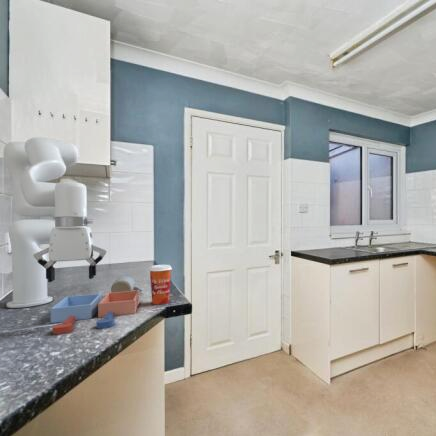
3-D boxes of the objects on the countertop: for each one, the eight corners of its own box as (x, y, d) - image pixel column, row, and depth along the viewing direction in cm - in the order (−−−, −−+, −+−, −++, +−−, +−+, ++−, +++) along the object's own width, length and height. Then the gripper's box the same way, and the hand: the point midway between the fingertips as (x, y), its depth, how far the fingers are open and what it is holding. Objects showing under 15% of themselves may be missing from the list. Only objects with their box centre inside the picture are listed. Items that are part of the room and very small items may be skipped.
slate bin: (66, 309, 110) (66, 296, 110) (101, 305, 115) (101, 293, 115) (50, 323, 96) (50, 308, 96) (91, 318, 100) (91, 304, 100)
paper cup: (148, 306, 114) (148, 268, 114) (149, 301, 121) (149, 265, 120) (172, 303, 117) (172, 266, 117) (172, 298, 124) (172, 263, 124)
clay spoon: (63, 322, 96) (63, 317, 96) (81, 320, 98) (80, 315, 98) (50, 335, 86) (50, 328, 86) (70, 332, 88) (70, 326, 88)
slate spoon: (102, 318, 101) (102, 312, 101) (118, 316, 103) (118, 310, 103) (94, 329, 91) (94, 323, 91) (113, 327, 92) (112, 321, 92)
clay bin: (107, 304, 116) (107, 292, 116) (139, 301, 120) (139, 289, 120) (98, 317, 101) (98, 303, 101) (135, 313, 106) (135, 300, 106)
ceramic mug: (109, 299, 123) (110, 279, 123) (114, 294, 131) (114, 276, 131) (140, 296, 128) (141, 278, 128) (143, 292, 135) (143, 274, 135)
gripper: (108, 222, 102) (108, 275, 102) (38, 223, 94) (39, 280, 94) (103, 222, 95) (104, 279, 95) (28, 223, 87) (29, 285, 87)
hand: (72, 279), depth 94 cm, fingers open, 9 cm apart
